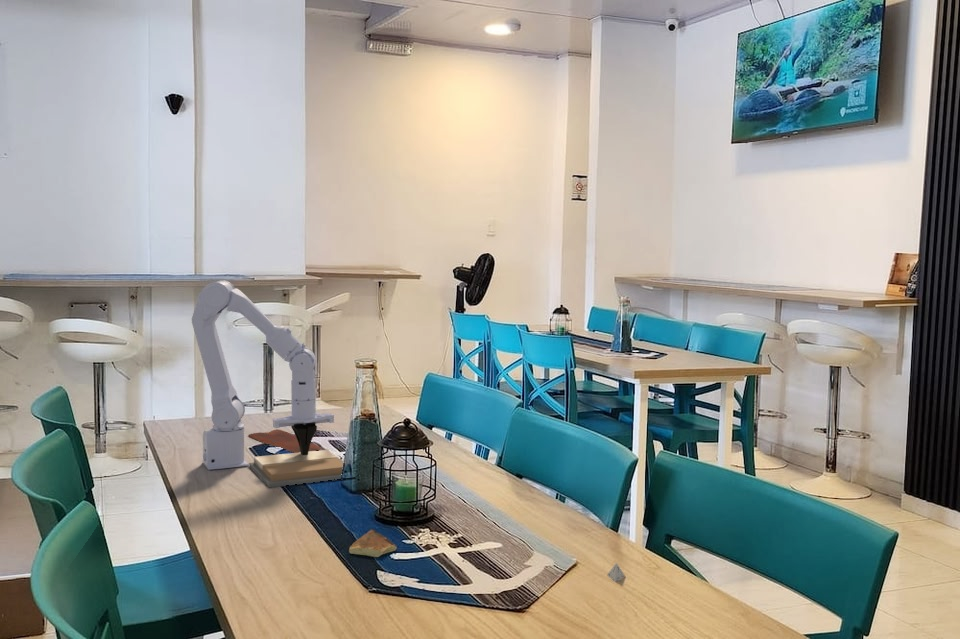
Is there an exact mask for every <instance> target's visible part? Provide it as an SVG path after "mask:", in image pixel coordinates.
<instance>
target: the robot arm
mask: <svg viewBox="0 0 960 639" xmlns="http://www.w3.org/2000/svg"><path fill="white" fill-rule="evenodd" d="M225 309H226V311H228V312H232V313H233V312H234V313H238V314H241V315H242V316H243V317H244V318H245V319H246V320H248V321H249V322H250V323H251V324H253V326H255V328H257V330H259V331H260V332H261V333H263V334H264V335H265V343H266V345H267V346H269V347H270V348H271V350H273V352H275V353H276V354H277V355H278V356H279V357H280V358H282V360H283V361H284V362H288V365H289V369H290V370H291V372H292V373H291V380H290V381H291V384H290V386H291V389H290V393H291V415H289V416H284V417H278V418H272V427H273V428H274V429H279V428H285V427H291V430H292V431H293V433H294V435H296V438H297V440H298V443H299V447H300V452H301V454H302V455H308V452H309V447H310V443H312V440H313V438H314V436H315V434H316V432H317V429H318V426H317V424H327V423H329V424H332V423H333V424H334V423H335V415H334V414H333V413H317V412H316V409H317V408H316V407H317V406H316V405H317V404H316V399H317V398H316V379H315V378H316V371H315V366H316V363H317V357H316V355H315V353H314V352H313V350H312V348H310V347H307V344H305V343H304V342H303V343H302V342H301V341H300V340H299V339H297V337H296V336H295V335H293V333H292V332H293V330H292V329H291V328H290V327H287V328H286V327H285V326H284V325H275V324H274V323H273V321H272V320H271V319H269V318H268V317H267V316H266V315H265V313H264V312H262V311H261V309H260V308H259V307H258V306H257V305H256V304H255V303H254V302H253V301H252V300H251V299H250V298H249V297H248V296H247V295H246V294H244V292H242V290H240V289H239V288H237V287H236V288H235V286H234V284H233V283H231V282H229V281H227V280H226V279H225V280H223V279H221V280H217V281H213V282H210V283H208V284H206V285H205V286H204V287H203V288H202V290H201V291H200V292H199V293H198V296H197V300H196V303H195V307H194V310H193V313H192V315H191V316H192V317H191V324H192V328H193V331H194V332H193V333H194V334H195V339H196V341H197V342H196V343H197V346H198V348H199V352H200V355H201V360H202V363H203V366H204V370H205V373H206V377H207V381H208V384H209V388H210V390H211V391H210V392H211V395H210V396H211V400H210V401H211V406H212V412H211V422H212V424H213V425H212V428H211V429H204V431H203V433H202V464H203V465H204V466H205V467H206V468H207V470H208V471H211V470H221V469H230V468H240V467H249V463H250V462H249V463H248V461H247V460H246V459H245V424H244V423H243V421H242V418H243V417H244V416H245V412H246V411H245V410H246V408H245V404H244V402H243V401H242V400H241V399H240V397H239V396H238V393H237V390H236V389H235V388H234V386H233V384H232V380H231V376H230V373H229V369H228V365H227V362H226V359H225V355H224V352H223V347H222V343H221V340H220V337H219V333H218V329H217V326H216V321H217V320H218V318H219V316H220V315H221V314H222V313H223V310H225Z"/></svg>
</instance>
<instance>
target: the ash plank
mask: <svg viewBox="0 0 960 639" xmlns="http://www.w3.org/2000/svg"><path fill="white" fill-rule="evenodd" d="M331 458H339V457H338V456H336V454H334V453H332V452H331V451H329V450H328V449H323V450H319V451H309V452H308V455H302V454H301V452H299V453H291V452H287V453H282V454H278V453H277V454H270V455H269V454H268V455H261V456H258V455H257V456H254V457H253V462H254V463H255V464H256V465H257V466H258V467H259V468H260V469H261V470H262V471H263V465H272V464H282V463H292V462H302V461H311V460H321V459H331Z"/></svg>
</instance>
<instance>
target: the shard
mask: <svg viewBox="0 0 960 639" xmlns="http://www.w3.org/2000/svg"><path fill="white" fill-rule="evenodd" d="M397 548H398V547H397V545H396V544H395V543H393V542H392V541H390V540H389V539H388V538H387V537H386V536H384V535H383V534H381V533H380V532H377V531H376V530H375V529H374V528H371V529H370V530H369V531H367V533H365V534H363V535H362V536H360V538H358V539H357V540H355V541H354V542H353V543H352V545H350V546H349V549H348V552H349V554H352V555H353V554H354V555H362V556H368V557H375V558H380V557H381V556H382V555H385V554H388V553H392V552H394V551H396V550H397Z"/></svg>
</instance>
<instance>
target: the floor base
mask: <svg viewBox="0 0 960 639" xmlns="http://www.w3.org/2000/svg"><path fill="white" fill-rule="evenodd" d="M343 462H344V461H343V460H342V459H341V458H339V457H338V458H331V459H321V460H311V461H302V462H292V463H282V464H272V465H263V471H262V470H261V469H260V468H259V467H258V466H257V465H256V464H255V463H254V461H253V462H249V466H248V467H249V468H250V469H251V470H252V471H253V472H254V473H255V474H256V475H257V476H258V478H259V479H260V480H262V482H263V483H264V484H265V485H266V486H267V487H268V488H270V489H271V488H278V487H287V486H286V485H289V486H296V485H295V484H297V485H304V484H303V483H306V484H311V483H312V484H314V483H313V482H315V483H320V481H324V482H329V481H328V480H332V481H338V480H337V479H340V478H341V474H342V468H343ZM334 479H335V480H334Z"/></svg>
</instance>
